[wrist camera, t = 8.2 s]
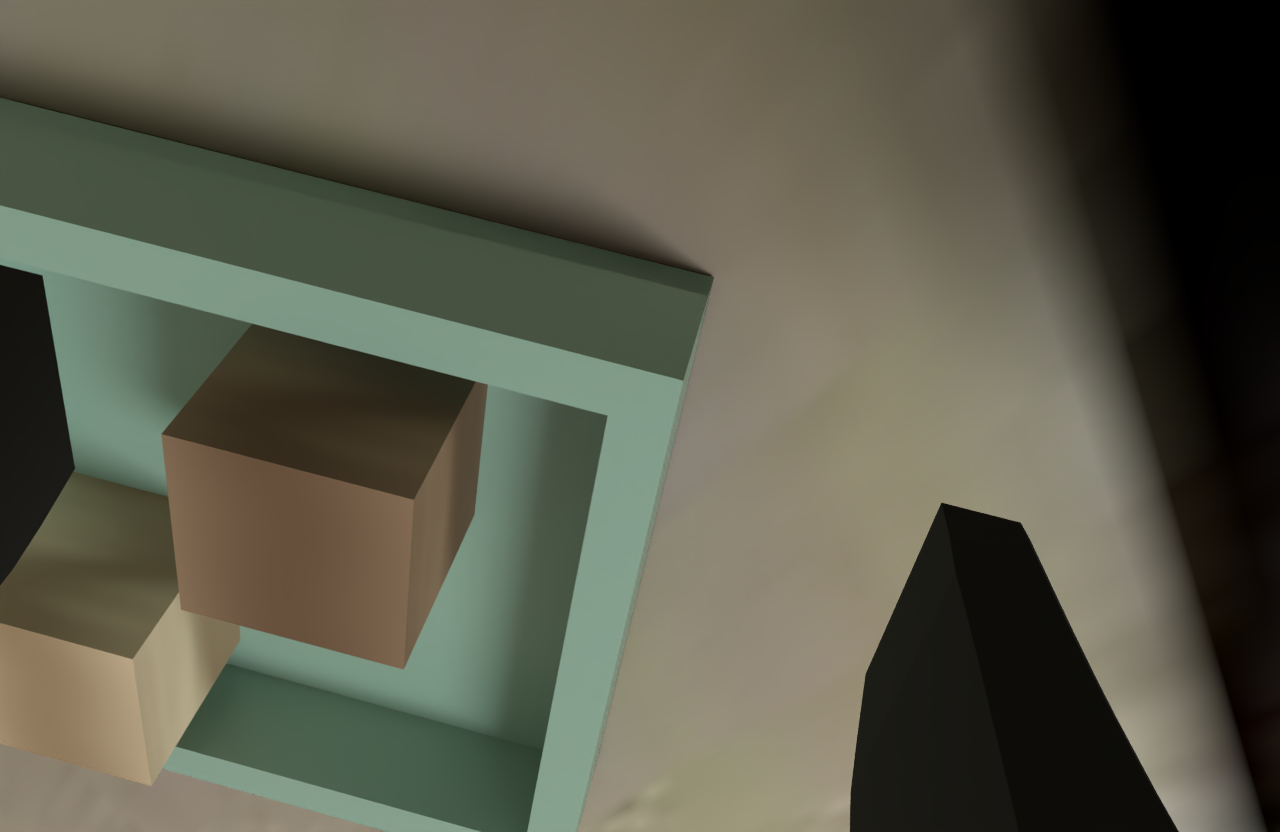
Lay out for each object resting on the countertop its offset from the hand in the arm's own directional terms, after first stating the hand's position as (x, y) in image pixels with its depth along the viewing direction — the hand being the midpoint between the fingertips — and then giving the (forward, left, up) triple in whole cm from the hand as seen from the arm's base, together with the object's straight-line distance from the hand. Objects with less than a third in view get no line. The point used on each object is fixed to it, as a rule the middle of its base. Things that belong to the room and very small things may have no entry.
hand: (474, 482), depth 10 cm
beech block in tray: (+9, +14, -10) cm, 19 cm away
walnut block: (+4, +8, -10) cm, 13 cm away
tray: (+6, +11, -10) cm, 16 cm away
